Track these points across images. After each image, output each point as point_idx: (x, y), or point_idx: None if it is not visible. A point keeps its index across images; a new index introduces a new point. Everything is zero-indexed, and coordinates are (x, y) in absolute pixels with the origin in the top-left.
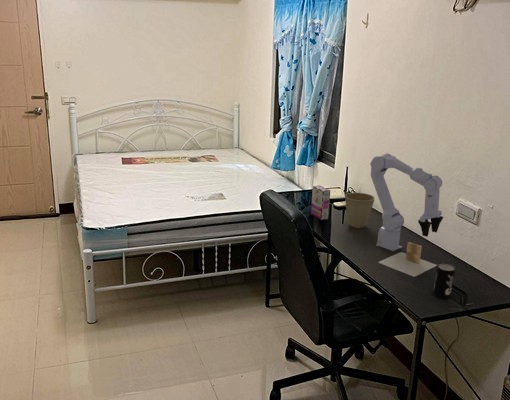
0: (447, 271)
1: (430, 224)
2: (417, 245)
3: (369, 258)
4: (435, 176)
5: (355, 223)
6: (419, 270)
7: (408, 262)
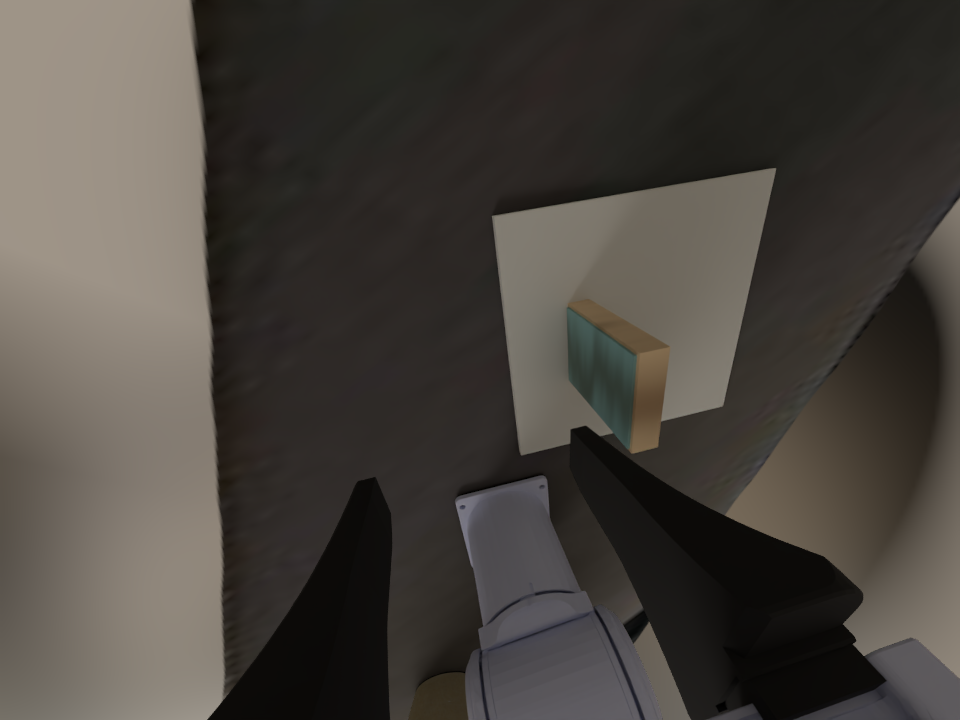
0: None
1: (730, 565)
2: (655, 378)
3: (693, 453)
4: None
5: None
6: (667, 221)
7: None
